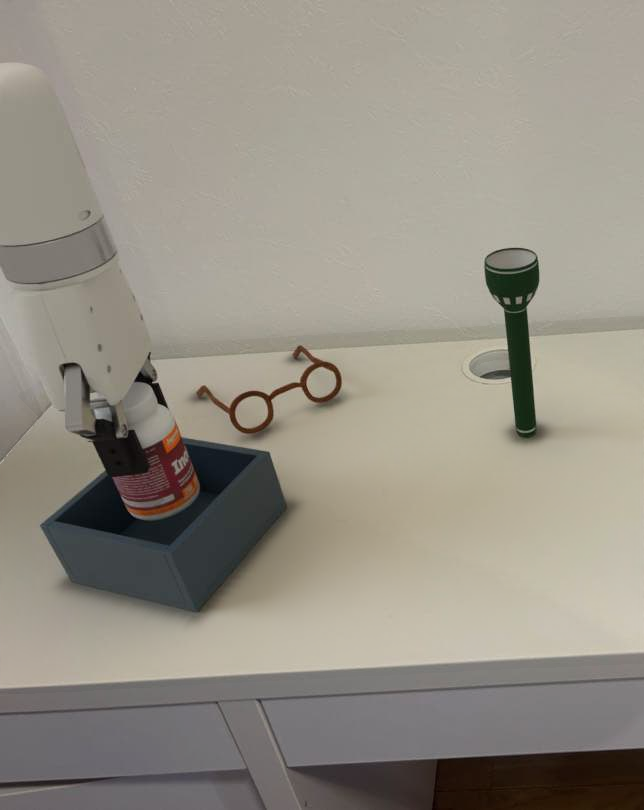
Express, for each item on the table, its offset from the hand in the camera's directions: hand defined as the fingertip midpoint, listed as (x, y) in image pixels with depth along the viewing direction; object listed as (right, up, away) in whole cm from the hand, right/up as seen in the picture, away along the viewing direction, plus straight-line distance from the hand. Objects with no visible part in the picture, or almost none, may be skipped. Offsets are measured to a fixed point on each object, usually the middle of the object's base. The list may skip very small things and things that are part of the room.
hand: (142, 446), depth 68 cm
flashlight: (+32, 0, +17) cm, 37 cm away
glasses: (+2, +4, +27) cm, 27 cm away
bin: (+1, -9, +6) cm, 11 cm away
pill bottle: (0, -5, +3) cm, 6 cm away
